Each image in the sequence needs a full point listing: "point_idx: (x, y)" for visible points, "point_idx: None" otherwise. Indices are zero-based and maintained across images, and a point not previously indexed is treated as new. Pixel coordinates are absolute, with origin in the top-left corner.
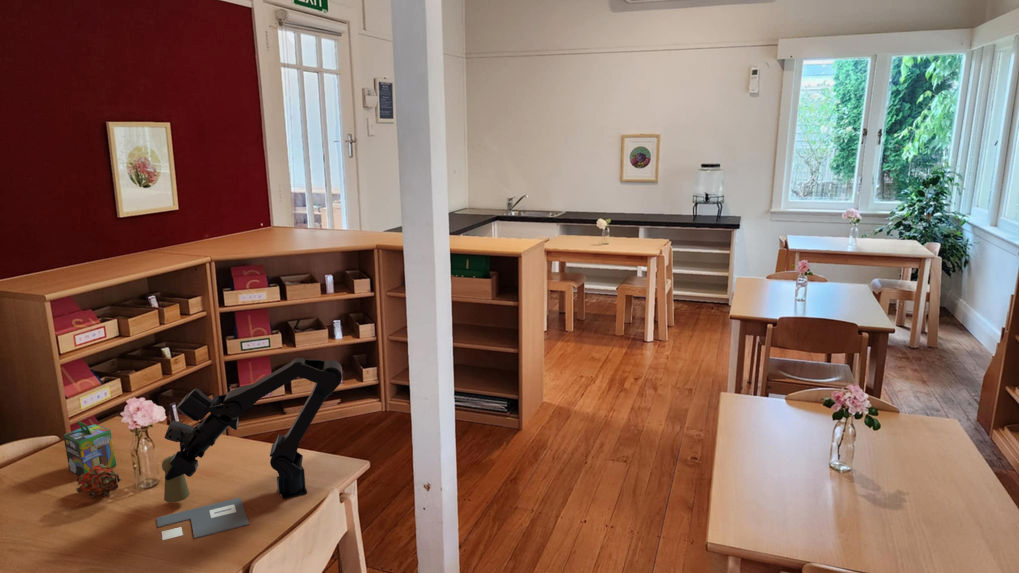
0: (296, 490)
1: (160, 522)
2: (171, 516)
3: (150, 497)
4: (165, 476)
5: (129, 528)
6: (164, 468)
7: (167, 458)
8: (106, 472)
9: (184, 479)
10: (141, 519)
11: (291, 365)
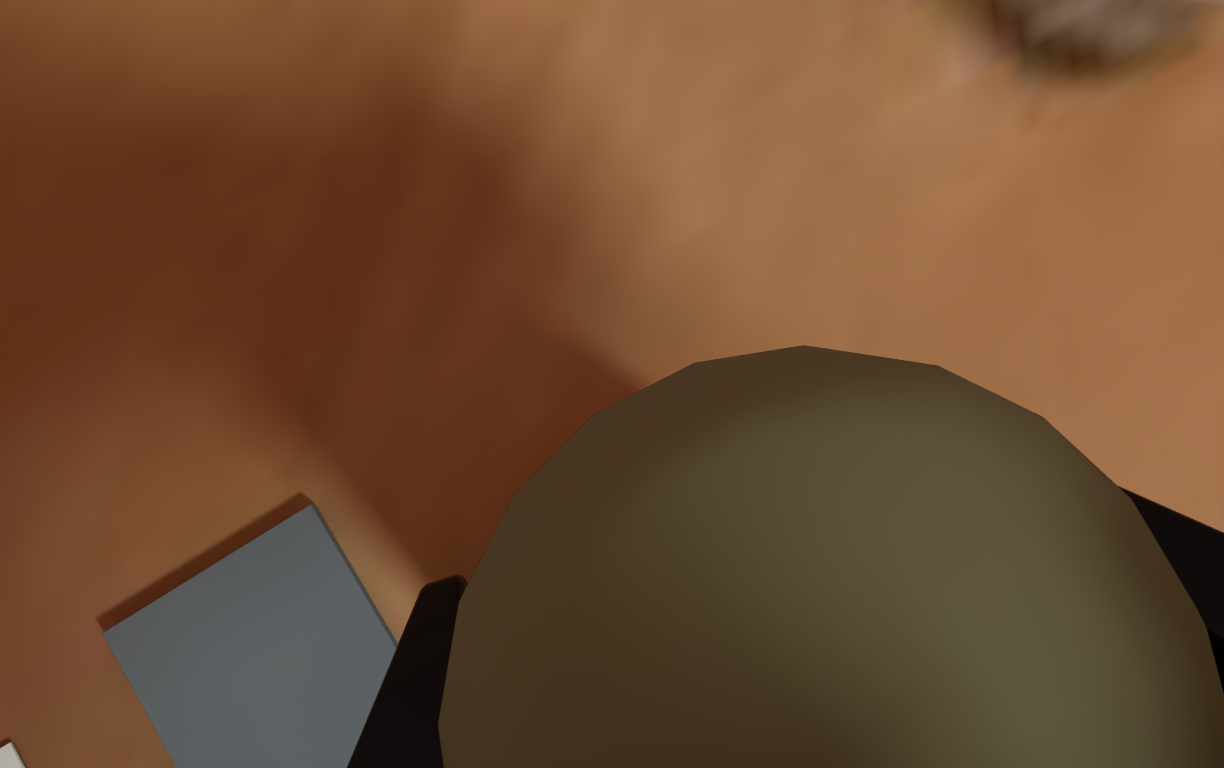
0: None
1: (196, 620)
2: (344, 687)
3: (791, 156)
4: (415, 621)
5: (103, 290)
6: (470, 583)
7: (838, 551)
8: None
9: None
10: (299, 322)
11: None
